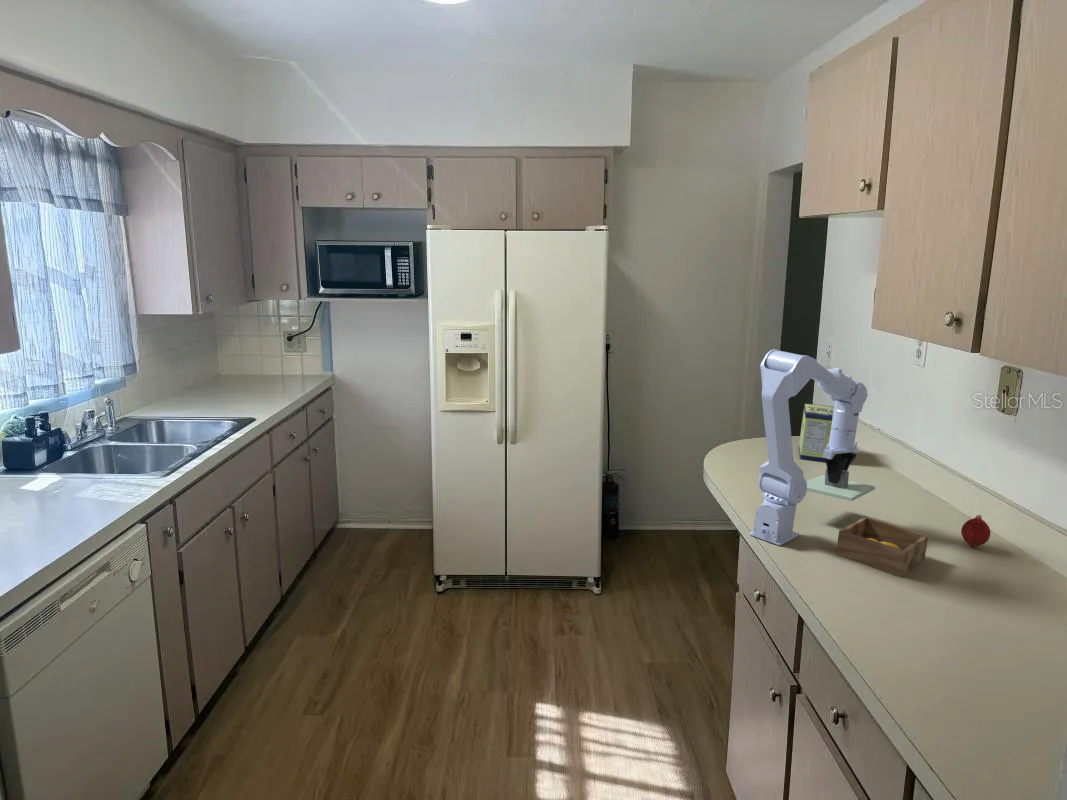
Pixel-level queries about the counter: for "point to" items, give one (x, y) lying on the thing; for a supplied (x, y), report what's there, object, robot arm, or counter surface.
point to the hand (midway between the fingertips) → (835, 481)
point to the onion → (975, 531)
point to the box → (882, 546)
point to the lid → (838, 487)
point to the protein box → (815, 431)
